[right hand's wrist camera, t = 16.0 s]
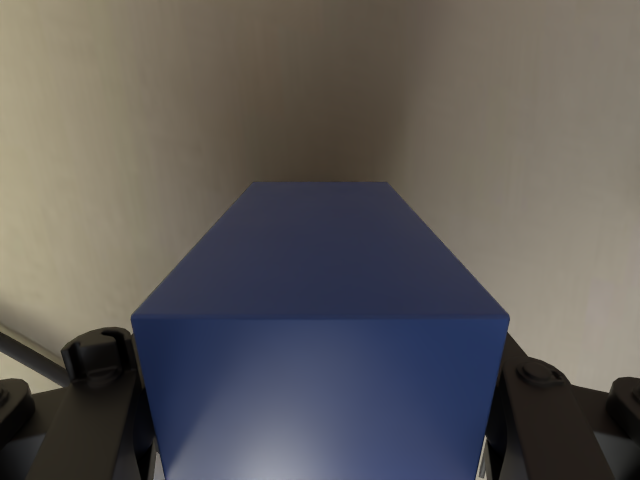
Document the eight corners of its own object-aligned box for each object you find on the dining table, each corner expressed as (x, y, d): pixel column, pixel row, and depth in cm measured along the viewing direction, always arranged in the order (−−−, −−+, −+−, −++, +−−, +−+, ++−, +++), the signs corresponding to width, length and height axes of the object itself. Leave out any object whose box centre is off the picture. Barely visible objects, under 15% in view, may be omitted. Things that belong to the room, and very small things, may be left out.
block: (252, 181, 16) (128, 316, 6) (387, 181, 16) (513, 316, 6) (260, 303, 18) (181, 562, 8) (379, 303, 18) (458, 563, 8)
